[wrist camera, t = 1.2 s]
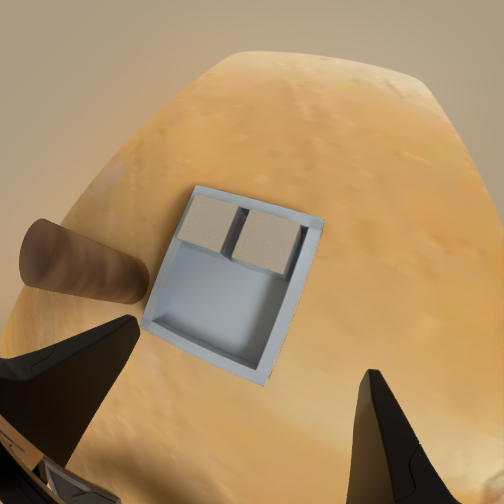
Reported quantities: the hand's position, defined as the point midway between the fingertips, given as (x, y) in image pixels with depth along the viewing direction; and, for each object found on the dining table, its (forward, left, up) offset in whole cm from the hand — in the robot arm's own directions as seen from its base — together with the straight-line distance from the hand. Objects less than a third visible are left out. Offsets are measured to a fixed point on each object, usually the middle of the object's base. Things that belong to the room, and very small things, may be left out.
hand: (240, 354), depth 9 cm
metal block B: (+6, +8, -13) cm, 17 cm away
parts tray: (+3, +5, -14) cm, 16 cm away
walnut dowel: (-1, +16, -14) cm, 22 cm away
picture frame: (-41, +16, -15) cm, 46 cm away
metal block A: (+6, +3, -13) cm, 15 cm away
